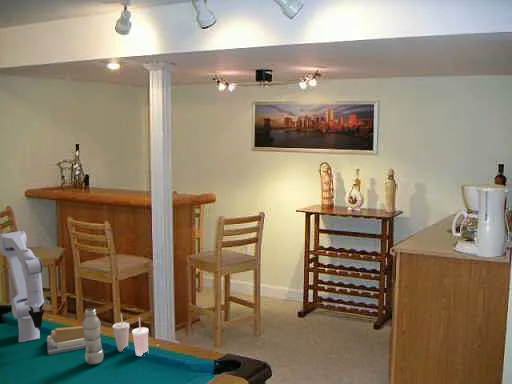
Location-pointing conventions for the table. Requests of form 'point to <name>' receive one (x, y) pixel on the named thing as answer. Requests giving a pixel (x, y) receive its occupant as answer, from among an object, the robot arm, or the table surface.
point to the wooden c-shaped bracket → (67, 334)
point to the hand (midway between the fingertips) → (38, 324)
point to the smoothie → (121, 334)
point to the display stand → (64, 345)
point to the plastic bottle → (92, 337)
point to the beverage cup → (140, 339)
